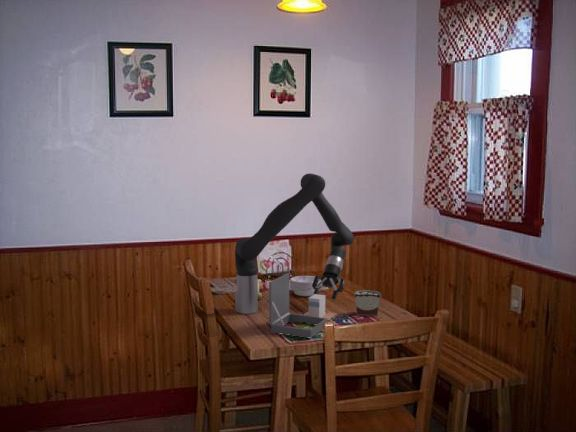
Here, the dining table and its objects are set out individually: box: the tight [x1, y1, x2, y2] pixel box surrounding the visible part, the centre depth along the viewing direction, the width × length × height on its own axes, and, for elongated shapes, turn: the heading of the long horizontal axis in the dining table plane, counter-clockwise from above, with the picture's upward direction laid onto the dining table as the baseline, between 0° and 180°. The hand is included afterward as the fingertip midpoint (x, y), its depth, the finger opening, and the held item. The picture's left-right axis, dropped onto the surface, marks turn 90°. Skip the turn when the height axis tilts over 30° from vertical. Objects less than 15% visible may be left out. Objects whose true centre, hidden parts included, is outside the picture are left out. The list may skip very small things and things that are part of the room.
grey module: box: [307, 293, 326, 318], centre depth 286 cm, size 5×7×9 cm
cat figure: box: [257, 278, 267, 301], centre depth 325 cm, size 10×9×25 cm
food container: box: [353, 289, 382, 316], centre depth 292 cm, size 12×6×10 cm, turn 84°
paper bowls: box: [289, 275, 321, 297], centre depth 324 cm, size 15×15×8 cm
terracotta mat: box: [303, 310, 338, 321], centre depth 286 cm, size 13×16×1 cm
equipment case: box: [268, 272, 328, 337], centre depth 268 cm, size 18×18×21 cm
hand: (324, 298), depth 292 cm, fingers open, 8 cm apart
